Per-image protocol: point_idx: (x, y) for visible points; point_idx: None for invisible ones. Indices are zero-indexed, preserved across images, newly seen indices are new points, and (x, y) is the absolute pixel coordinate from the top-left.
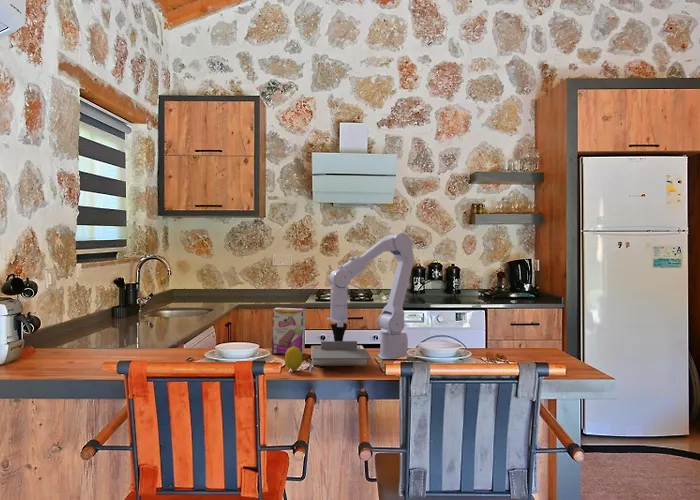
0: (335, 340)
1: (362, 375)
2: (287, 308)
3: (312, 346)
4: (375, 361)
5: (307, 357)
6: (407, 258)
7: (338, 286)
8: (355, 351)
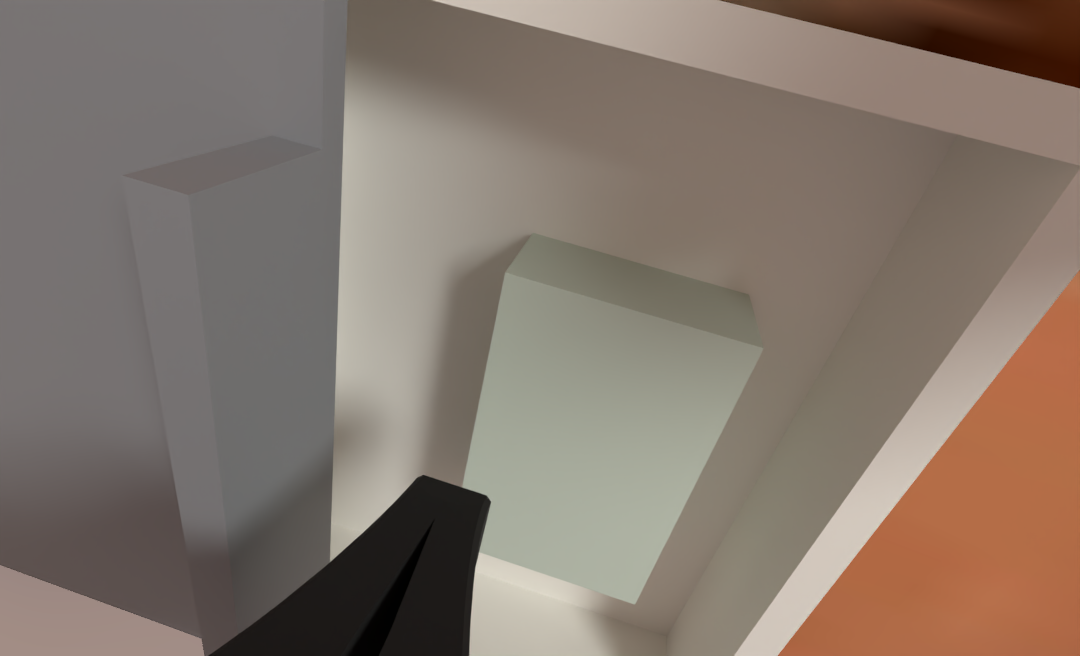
0: (363, 546)
1: None
2: None
3: (1053, 124)
4: None
5: (1040, 4)
6: None
7: None
8: (150, 539)
